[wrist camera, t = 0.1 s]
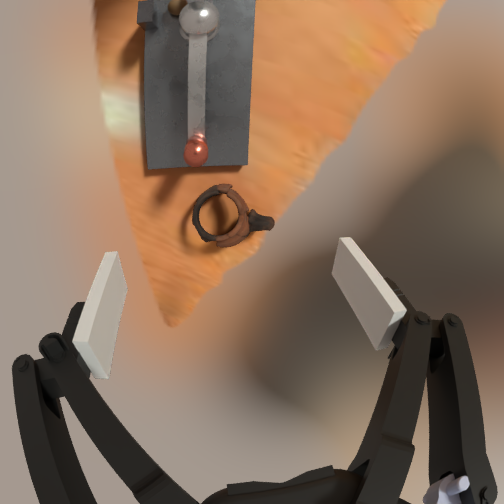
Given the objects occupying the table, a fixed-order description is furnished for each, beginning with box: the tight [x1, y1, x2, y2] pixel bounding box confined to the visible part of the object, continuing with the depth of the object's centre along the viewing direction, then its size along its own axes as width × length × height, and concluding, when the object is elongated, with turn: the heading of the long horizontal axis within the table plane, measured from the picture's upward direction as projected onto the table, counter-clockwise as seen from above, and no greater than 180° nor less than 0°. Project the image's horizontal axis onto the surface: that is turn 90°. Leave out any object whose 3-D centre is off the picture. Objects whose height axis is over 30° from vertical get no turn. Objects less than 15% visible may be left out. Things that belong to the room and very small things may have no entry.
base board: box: [137, 0, 256, 169], centre depth 31 cm, size 25×14×7 cm, turn 177°
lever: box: [179, 0, 219, 167], centre depth 27 cm, size 22×4×9 cm, turn 177°
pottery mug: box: [192, 184, 275, 247], centre depth 43 cm, size 12×10×8 cm
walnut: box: [167, 0, 188, 15], centre depth 25 cm, size 3×3×3 cm
